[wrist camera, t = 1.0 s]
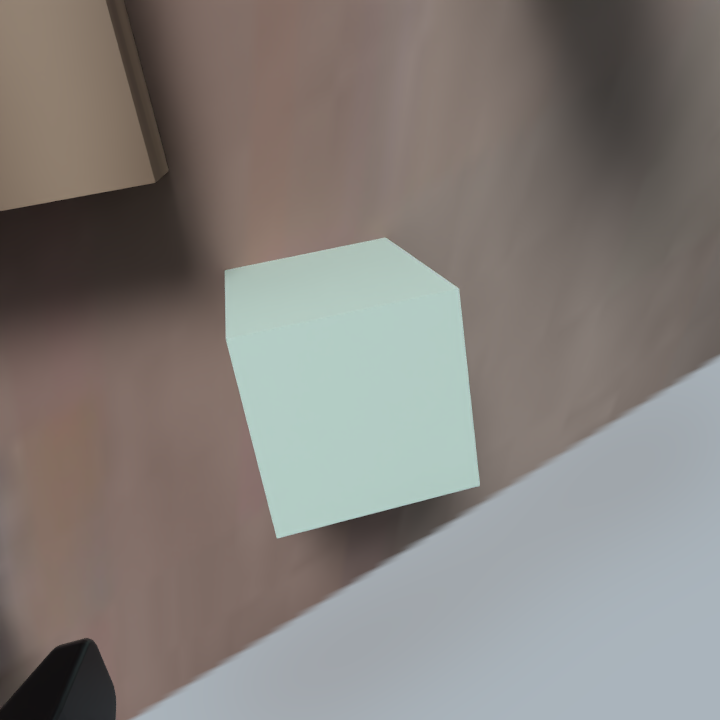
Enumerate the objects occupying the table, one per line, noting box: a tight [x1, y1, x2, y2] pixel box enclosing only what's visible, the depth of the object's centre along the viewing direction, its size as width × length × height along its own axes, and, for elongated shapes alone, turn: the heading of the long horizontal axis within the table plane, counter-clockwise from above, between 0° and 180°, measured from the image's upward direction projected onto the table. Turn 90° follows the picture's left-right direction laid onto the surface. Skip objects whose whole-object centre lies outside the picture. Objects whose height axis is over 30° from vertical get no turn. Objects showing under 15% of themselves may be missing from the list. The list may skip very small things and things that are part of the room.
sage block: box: [225, 238, 480, 538], centre depth 16 cm, size 4×4×6 cm
